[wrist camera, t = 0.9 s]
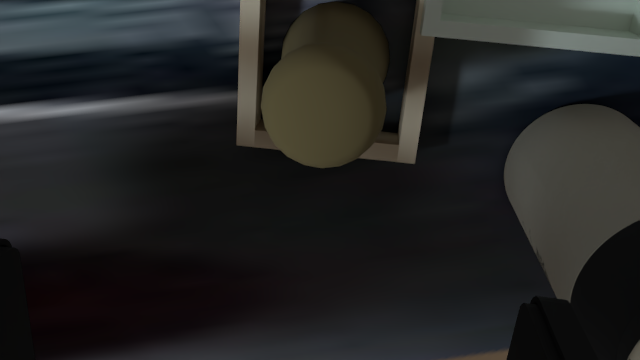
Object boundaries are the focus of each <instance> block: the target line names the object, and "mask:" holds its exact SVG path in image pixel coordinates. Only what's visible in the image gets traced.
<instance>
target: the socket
mask: <svg viewBox="0 0 640 360" xmlns="http://www.w3.org/2000/svg"><path fill="white" fill-rule="evenodd" d="M423 5H424V0H416V8H415V15H414V22H413V29H412V36H411V43H410V50H409V57H408V64H407V71H406V78H405V85H404V92H403V99H402V106H401V114H400V121H399V128H398V133H391V132H380V133H379V135H378V137H377V138H376V140H375V142H374V143H373V145H372V146H371V147H370V148H369V149H368V150H367V151H365V152H364V153H363V154H362V155H361V156H360V157H359V158H363V159H372V160H382V161H392V162H401V163H411V164H415V160H416V153H417V147H418V140H419V134H420V128H421V121H422V115H423V109H424V102H425V96H426V90H427V83H428V77H429V70H430V64H431V58H432V51H433V45H434V39H435V37H432V36H421V34H420V25H421V18H422V12H423ZM265 12H266V0H241V2H240V37H239V73H238V109H237V145H238V146H247V147H257V148H267V149H276V150H280V149H279V148H278V147H277V146H276V145H275V144H274V143H273V141H272V139H271V138H270V136H269V134H268V132H267V130H266V128H265V125H264V120H263V119H261V100H262V80H263V57H264V34H265Z"/></svg>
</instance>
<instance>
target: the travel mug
mask: <svg viewBox="0 0 640 360" xmlns="http://www.w3.org/2000/svg"><path fill="white" fill-rule="evenodd" d="M504 184H505V189H506V193H507V196H508V198H509V200H510V202H511V204H512V206H513V209H514V211H515V213H516V215H517V217H518V219H519V221H520V223H521V225H522V227H523V229H524V231H525V233H526V235H527V237H528V239H529V242H530V244H531V246H532V248H533V250H534V252H535V254H536V256H537V258H538V260H539V262H540V264H541V266H542V268H543V270H544V272H545V274H546V277H547V279H548V281H549V283H550V285H551V287H552V289H553V291H554V293H555V295H556V297H557V299H565V300H568V301H569V303H570V304H571V306H572V308H573V310H574V312H575V314H576V316H577V318H578V320H579V322H580V324H581V326H582V328H583V330H584V332H585V334H586V336H587V338H588V340H589V342H590V344H591V346H592V348H593V350H594V352H595V354H596V356H597V358H598V360H640V127H639V126H638V125H636V124H635V123H634V122H632V121H631V120H630V119H629V118H627V117H626V116H625V115H623V114H622V113H620V112H618V111H616V110H614V109H611V108H608V107H605V106H601V105H595V104H576V105H569V106H565V107H561V108H558V109H555V110H553V111H551V112H548V113H546V114H545V115H543V116H541V117H539V118H538V119H536V120H535V121H534V122H532V123H531V124H530V125H529V126H528V127H527V128H526V129H524V131H523V132H522V133H521V134H520V135H519V136H518V138H517V139H516V140H515V142H514V144H513V145H512V147H511V149H510V151H509V154H508V156H507V159H506V163H505V168H504Z"/></svg>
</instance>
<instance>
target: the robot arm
mask: <svg viewBox="0 0 640 360" xmlns="http://www.w3.org/2000/svg"><path fill="white" fill-rule="evenodd" d="M0 360H35V355H34V348H33V341H32V334H31V327H30V321H29V314H28V307H27V300H26V293H25V286H24V280H23V273H22V266H21V259H20V254H19V251H18V250H17V249H16V248H12V246H11V244H10V242H9V241H8V240H6V239H0ZM507 360H598V358H597V356H596V354H595V352H594V350H593V348H592V346H591V344H590V342H589V340H588V338H587V336H586V334H585V332H584V330H583V328H582V326H581V324H580V322H579V320H578V318H577V316H576V314H575V312H574V310H573V308H572V306H571V304H570V303H569V301H568V300H565V299H556V298H546V297H537V296H535V297H534V298H533V299H532V300H531V303H530V304H527V303H523V304H522V305H521V306H520V309H519V313H518V317H517V321H516V325H515V328H514V332H513V336H512V340H511V344H510V348H509V352H508V356H507Z"/></svg>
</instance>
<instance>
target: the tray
mask: <svg viewBox="0 0 640 360" xmlns="http://www.w3.org/2000/svg"><path fill="white" fill-rule="evenodd" d="M420 34H421V36H432V37H442V38H452V39H463V40H473V41H484V42H494V43H504V44H515V45H525V46H535V47H546V48H556V49H566V50H577V51H587V52H598V53H608V54H618V55H629V56H639V57H640V0H424V5H423V12H422V18H421V25H420Z"/></svg>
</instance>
